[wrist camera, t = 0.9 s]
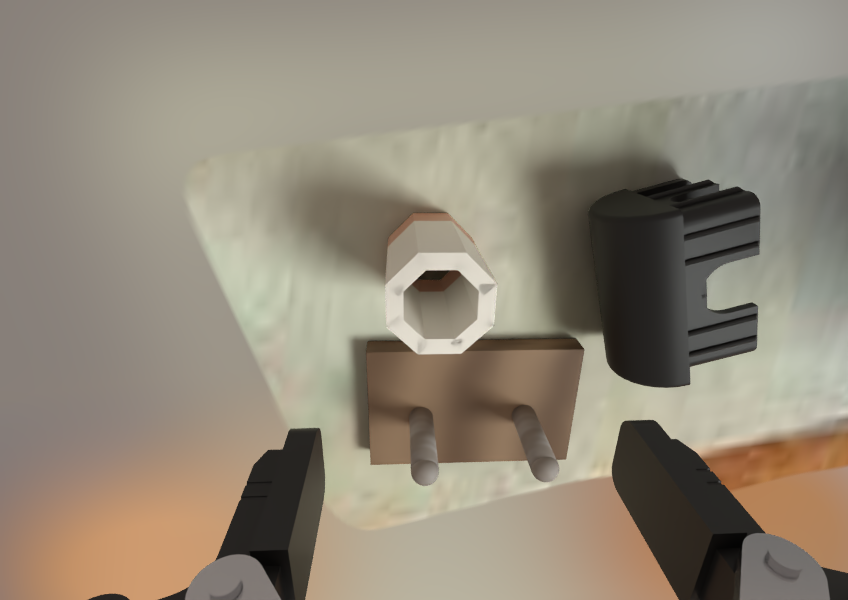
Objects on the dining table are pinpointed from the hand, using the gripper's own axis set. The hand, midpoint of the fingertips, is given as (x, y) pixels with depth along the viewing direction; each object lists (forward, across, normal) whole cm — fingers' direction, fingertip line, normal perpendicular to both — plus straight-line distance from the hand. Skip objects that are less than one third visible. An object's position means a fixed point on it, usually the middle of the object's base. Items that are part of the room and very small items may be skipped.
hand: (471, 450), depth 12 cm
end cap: (+18, -13, +1) cm, 22 cm away
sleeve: (+17, 0, 0) cm, 17 cm away
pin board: (+17, -3, +10) cm, 21 cm away
